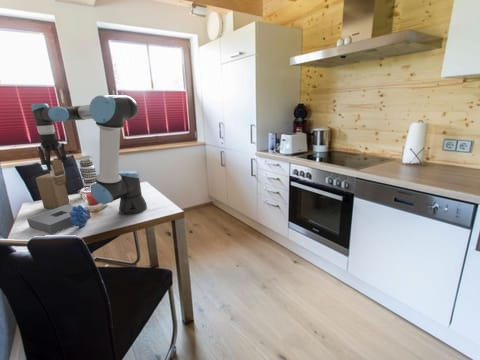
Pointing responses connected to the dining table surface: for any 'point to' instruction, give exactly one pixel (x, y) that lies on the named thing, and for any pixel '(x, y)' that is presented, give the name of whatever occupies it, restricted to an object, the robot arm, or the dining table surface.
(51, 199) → the wooden block
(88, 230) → the dining table surface
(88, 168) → the decorative candle
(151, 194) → the dining table surface
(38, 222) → the seat block
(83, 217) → the grapes
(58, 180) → the walnut peg
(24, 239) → the dining table surface
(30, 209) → the dining table surface
